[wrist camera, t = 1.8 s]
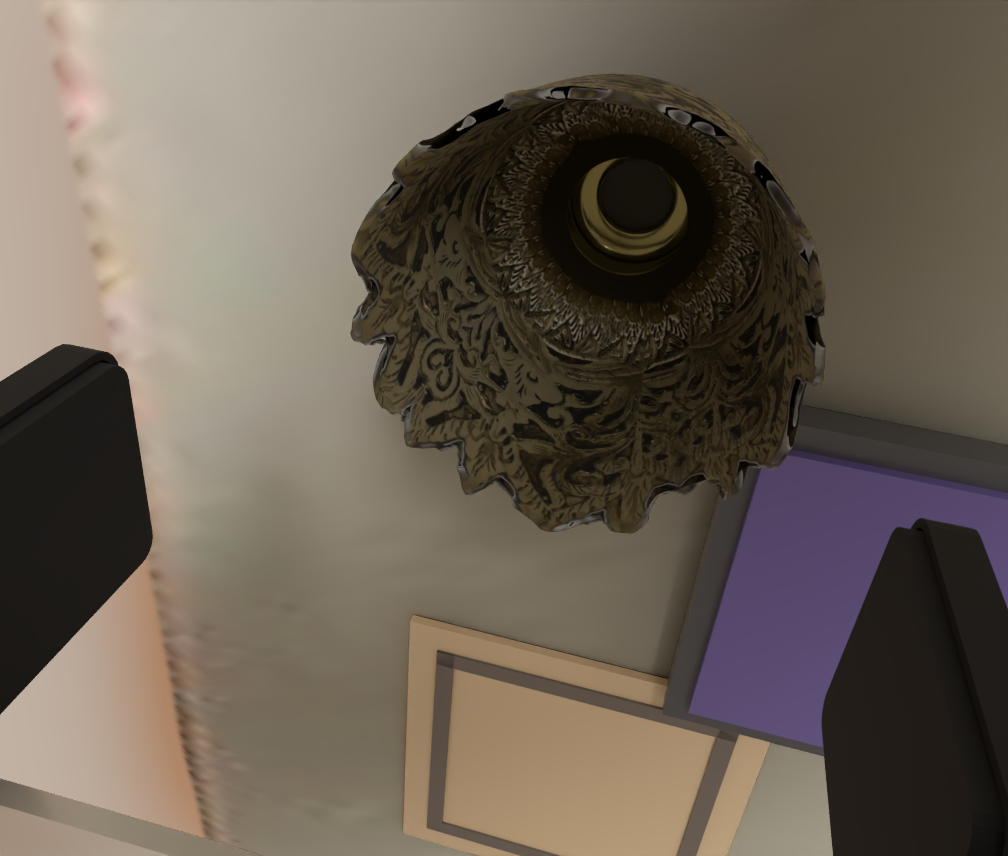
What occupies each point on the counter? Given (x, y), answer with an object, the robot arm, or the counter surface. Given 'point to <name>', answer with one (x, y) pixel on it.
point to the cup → (591, 302)
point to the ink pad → (817, 565)
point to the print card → (560, 755)
